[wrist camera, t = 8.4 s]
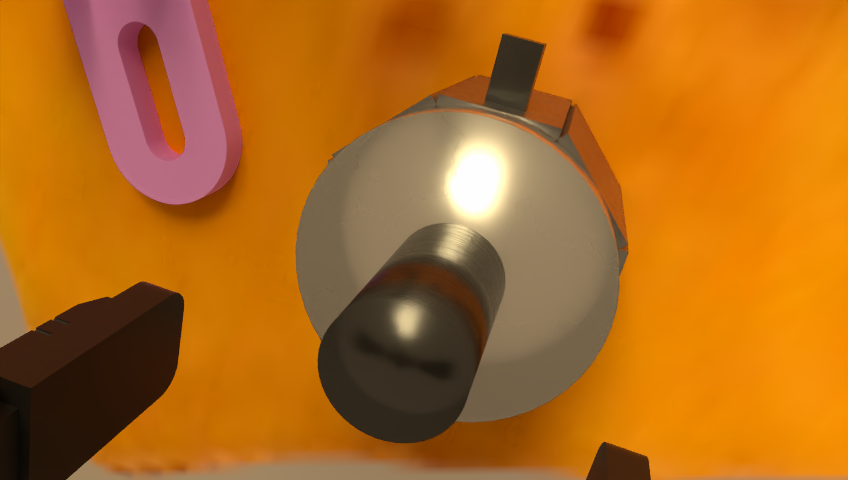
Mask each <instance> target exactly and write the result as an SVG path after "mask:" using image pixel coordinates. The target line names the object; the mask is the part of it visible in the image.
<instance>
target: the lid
mask: <svg viewBox="0 0 848 480" xmlns="http://www.w3.org/2000/svg"><path fill="white" fill-rule="evenodd" d="M296 271H297V277H298V283H299V289H300V293H301V296H302V299H303V303H304V306H305V309H306V311H307V314H308V316H309V318H310V321H311V323H312V325H313V327H314V329H315V330H316V332H317V334H318V336H319V337H320V339H321V344H320V348H319V353H318V371H319V377H320V380H321V384H322V387H323V389H324V391H325V394H326V396H327V397H328V399H329V401H330V403H331V404H332V405H333V407H334V408H335V409H336V411H337V412H338V413H339V414H340V415H341V416H342V417H343V418H344V419H345V420H346V421H347V422H349V423H350V424H351V425H352V426H354V427H355V428H357V429H358V430H360V431H362V432H364V433H365V434H367V435H370V436H372V437H375V438H377V439H381V440H384V441H388V442H394V443H415V442H420V441H425V440H428V439H431V438H433V437H435V436H437V435H439V434H441V433H442V432H444V431H445V430H447V429H448V428H449V427H450V426H451V425H452V424H453V423H454V422H485V421H495V420H500V419H505V418H510V417H513V416H516V415H519V414H522V413H525V412H528V411H531V410H533V409H535V408H537V407H539V406H541V405H543V404H545V403H548V402H549V401H551V400H552V399H554V398H555V397H557V396H558V395H560V394H561V393H563V392H564V391H565V390H567V389H568V388H569V387H570V386H571V385H572V384H573V383H575V382H576V381H577V380H578V379H579V378H580V377H581V376H582V375H583V373H584V372H585V371H586V370H587V369H588V368H589V366H590V365H591V364H592V363H593V361H594V360H595V358H596V356H597V355H598V353H599V352H600V350H601V348H602V347H603V345H604V343H605V341H606V338H607V336H608V334H609V331H610V329H611V327H612V323H613V319H614V316H615V312H616V309H617V302H618V294H619V259H618V249H617V243H616V237H615V231H614V227H613V224H612V221H611V218H610V215H609V212H608V209H607V207H606V205H605V203H604V200H603V198H602V196H601V194H600V192H599V190H598V189H597V187H596V186H595V184H594V183H593V181H592V179H591V178H590V176H589V175H588V173H587V172H586V171H585V170H584V168H583V167H582V166H581V165H580V164H579V163H578V162H577V161H576V159H575V158H574V157H573V156H572V155H571V154H570V153H569V152H568V151H566V150H565V149H564V148H563V147H562V146H561V145H560V144H558V143H557V142H556V141H555V140H553V139H552V138H550V137H549V136H547V135H546V134H544V133H543V132H541V131H540V130H538V129H537V128H535V127H533V126H531V125H529V124H527V123H525V122H523V121H520V120H518V119H516V118H513V117H510V116H507V115H504V114H501V113H498V112H495V111H490V110H484V109H479V108H473V107H455V106H451V107H439V108H430V109H425V110H421V111H416V112H412V113H409V114H406V115H403V116H401V117H398V118H395V119H393V120H390V121H388V122H386V123H384V124H382V125H380V126H378V127H376V128H374V129H372V130H371V131H369V132H367V133H365V134H363V135H361V136H360V137H358V138H357V139H356V140H354V141H353V142H352V143H350V144H349V145H348V146H346V147H345V148H344V149H343V150H342V151H341V152H340V153H339V154H338V155H337V156H336V157H335V158H334V159H333V160H332V161H331V162H330V163H329V164H328V166H327V167H326V168H325V170H324V171H323V172H322V174H321V175H320V176H319V178H318V179H317V181H316V183H315V185H314V186H313V188H312V190H311V192H310V194H309V196H308V198H307V201H306V204H305V206H304V209H303V211H302V214H301V219H300V223H299V228H298V232H297V242H296Z"/></svg>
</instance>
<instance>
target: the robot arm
mask: <svg viewBox="0 0 848 480" xmlns="http://www.w3.org/2000/svg"><path fill="white" fill-rule="evenodd" d="M183 312H184V300H183V297H182V295H181V294H179V293H176V292H173V291H170V290H167V289H164V288H162V287H159V286H156V285H153V284H150V283H147V282H139V283H137V284H135V285H134V286H132V287H130V288H129V289H127V290H125V291H124V292H122V293H120V294H118V295H117V296H115V297H113V298H109V297H104V298H100V299H97V300H93V301H89V302H85V303H81V304H78V305H76V306H74V307H72V308H71V309H69V310H67V311H65V312H63V313H62V314H60V315H58V316H56V317H55V319H54V321H53V320H49V321H47V322H46V323H44V324H42V325H40V326H39V327H37V328H36V330H35V331H32V330H31V331H30V332H28V333H26V334H24V335H23V336H21V337H19V338H17V339H15V340H14V341H12V342H10V343H9V344H7V345H5V346H3V347H1V348H0V480H66V479H67V478H68V477H70V476H71V475H72V474H73V473H74V472H75V471H77V470H78V469H79V468H80V467H81V466H82V465H83V464H84V463H86V462H87V461H88V460H89V459H90V458H91V457H92V456H94V455H95V454H96V453H97V452H98V451H99V450H100V449H102V448H103V447H104V446H105V445H106V444H107V443H108V442H110V441H111V440H112V439H113V438H114V437H115V436H116V435H118V434H119V433H120V432H121V431H122V430H123V429H124V428H125V427H127V426H128V425H129V424H130V423H131V422H132V421H133V420H135V419H136V418H137V417H138V416H139V415H140V414H141V413H143V412H144V411H145V410H146V409H147V408H148V407H149V406H151V405H152V404H153V403H154V402H155V401H156V400H157V399H158V398H160V397H161V396H162V395H163V394H164V392H165V391H166V390H167V388H168V387H169V385H170V384H171V382H172V380H173V377H174V375H175V372H176V369H177V364H178V356H179V347H180V339H181V330H182V321H183ZM586 480H651V478H650V469H649V461H648V458H647V456H644V455H641V454H638V453H635V452H632V451H630V450H627V449H624V448H621V447H618V446H615V445H612V444H609V443H606V442H603V443H602V444H601V446H600V448H599V450H598V452H597V454H596V457H595V459H594V461H593V464H592V466H591V469H590V471H589V474H588V476H587V479H586Z"/></svg>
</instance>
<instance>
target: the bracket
mask: <svg viewBox="0 0 848 480" xmlns="http://www.w3.org/2000/svg"><path fill="white" fill-rule="evenodd" d="M63 2H64V5H65V9H66V12H67V15H68V18H69V21H70V25H71V28H72V31H73V34H74V37H75V40H76V44H77V47H78V50H79V53H80V56H81V60H82V63H83V66H84V69H85V72H86V75H87V79H88V82H89V85H90V88H91V91H92V95H93V98H94V101H95V104H96V107H97V111H98V114H99V117H100V120H101V123H102V126H103V130H104V133H105V136H106V139H107V142H108V146H109V149H110V151H111V154H112V157H113V159H114V161H115V163H116V165H117V167H118V168H119V170H120V171H121V173H122V174H123V176H124V177H125V178H126V179H127V180H128V181H129V182H130V183H131V185H132V186H134V187H135V188H136V189H137V190H138V191H140V192H141V193H143V194H144V195H146V196H148V197H149V198H151V199H154V200H156V201H159V202H162V203H167V204H186V203H190V202H194V201H196V200H198V199H201V198H203V197H205V196H207V195H210V194H212V193H214V192H216V191H218V190H219V189H221V188H222V187H223V186H224V185H225V184H226V183H227V182H228V181H229V180H230V179H231V178H232V176H233V174H234V173H235V171H236V169H237V167H238V164H239V161H240V157H241V152H242V134H241V128H240V123H239V119H238V115H237V111H236V108H235V104H234V100H233V96H232V92H231V88H230V85H229V81H228V77H227V73H226V69H225V65H224V62H223V58H222V54H221V50H220V46H219V42H218V39H217V35H216V31H215V27H214V23H213V19H212V16H211V12H210V8H209V4H208V0H63ZM144 25H147V26H148V27H149V28H150V29H151V30H152V31H153V32H154V34H155V36H156V38H157V40H158V44H159V47H160V51H161V54H162V58H163V61H164V65H165V68H166V72H167V75H168V79H169V83H170V86H171V90H172V93H173V97H174V100H175V104H176V107H177V111H178V114H179V118H180V121H181V125H182V128H183V132H184V136H185V149H184V151H183V153H182V155H180V154H178V153H176V152H174V151H173V150H172V149H171V148H170V147H169V146H168V144H167V143H166V141H165V138H164V135H163V131H162V128H161V124H160V121H159V117H158V114H157V111H156V107H155V104H154V100H153V97H152V93H151V90H150V87H149V83H148V80H147V76H146V73H145V69H144V66H143V63H142V59H141V56H140V52H139V49H138V35H139V32H140V30H141V28H142V27H143V26H144Z"/></svg>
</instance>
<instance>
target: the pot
mask: <svg viewBox="0 0 848 480" xmlns="http://www.w3.org/2000/svg"><path fill="white" fill-rule="evenodd" d="M545 48H546V44H545V43H541V42H537V41H534V40H530V39H526V38H522V37H518V36H515V35H511V34H507V33H505V34H502V38H501V42H500V46H499V49H498V53H497V57H496V60H495V64H494V68H493V72H492V75H491V78H489V77H485V76H481V75H479V76H477V77H475V76H473V77H471V78H468V79H466V80H464V81H461V82H459V83H457V84H455V85H452V86H450V87H448V88H445V89H443V90H441V91H438V92H436V93H434V94H432V95H430V96H428V97H426V98H425V99H423V100H422V101H420V102H418V103H417V104H415V105H413V106H412V107H410V108H408V109H407V110H405V111H403V112H402V113H400V114H398V115H397V116H395V117H393V118H392V119H390V120H393V119H395V118H398V117H401V116H403V115H406V114H409V113H412V112H416V111H421V110H425V109H430V108H439V107H451V106H455V107H473V108H479V109H484V110H490V111H495V112H498V113H501V114H504V115H507V116H510V117H513V118H516V119H518V120H520V121H523V122H525V123H527V124H529V125H531V126H533V127H535V128H537V129H538V130H540V131H541V132H543V133H544V134H546V135H547V136H549V137H550V138H552V139H553V140H555V141H556V142H557V143H558V144H560V145H561V146H562V147H563V148H564V149H565V150H566V151H568V152H569V153H570V154H571V155H572V156H573V157H574V158H575V159H576V161H577V162H578V163H579V164H580V165H581V166H582V167H583V168H584V170H585V171H586V172H587V173H588V175H589V176H590V178H591V179H592V181H593V183H594V184H595V186H596V187H597V189H598V190H599V192H600V194H601V196H602V198H603V200H604V203H605V205H606V207H607V209H608V212H609V215H610V218H611V221H612V224H613V227H614V231H615V237H616V243H617V249H618V259H619V276H620V273H621V271H622V268H623V265H624V263H625V260H626V257H627V255H628V240H627V232H626V225H625V217H624V209H623V201H622V194H621V187H620V185H619V183H618V181H617V179H616V177H615V176H614V174H613V172H612V170H611V168H610V166H609V164H608V162H607V161H606V159H605V157H604V155H603V153H602V151H601V149H600V147H599V145H598V144H597V142H596V140H595V138H594V136H593V134H592V132H591V130H590V129H589V127H588V125H587V123H586V121H585V119H584V117H583V115H582V114H581V112H580V110H579V108H578V106H577V104H576V105H574V106H572V107H570V105H571V102H572V100H568V99H565V98H561V97H558V96H554V95H550V94H547V93H543V92H539V91H536V90H533V88H534V85H535V82H536V78H537V75H538V71H539V68H540V65H541V61H542V58H543V54H544V51H545ZM390 120H388V121H390ZM388 121H387V122H388ZM385 123H386V122H385ZM347 146H348V145H347ZM344 148H345V147H344ZM344 148H342V149H341V150H339V151H337V152H336V153H334V154H332V155H333V157H334V158H335V157H336V156H337V155H338V154H339V153H340V152H341V151H342V150H343V149H344ZM334 158H332V159H330V160H328V164H329V163H330V162H331V161H332V160H333V159H334ZM327 166H328V165H327Z"/></svg>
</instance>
